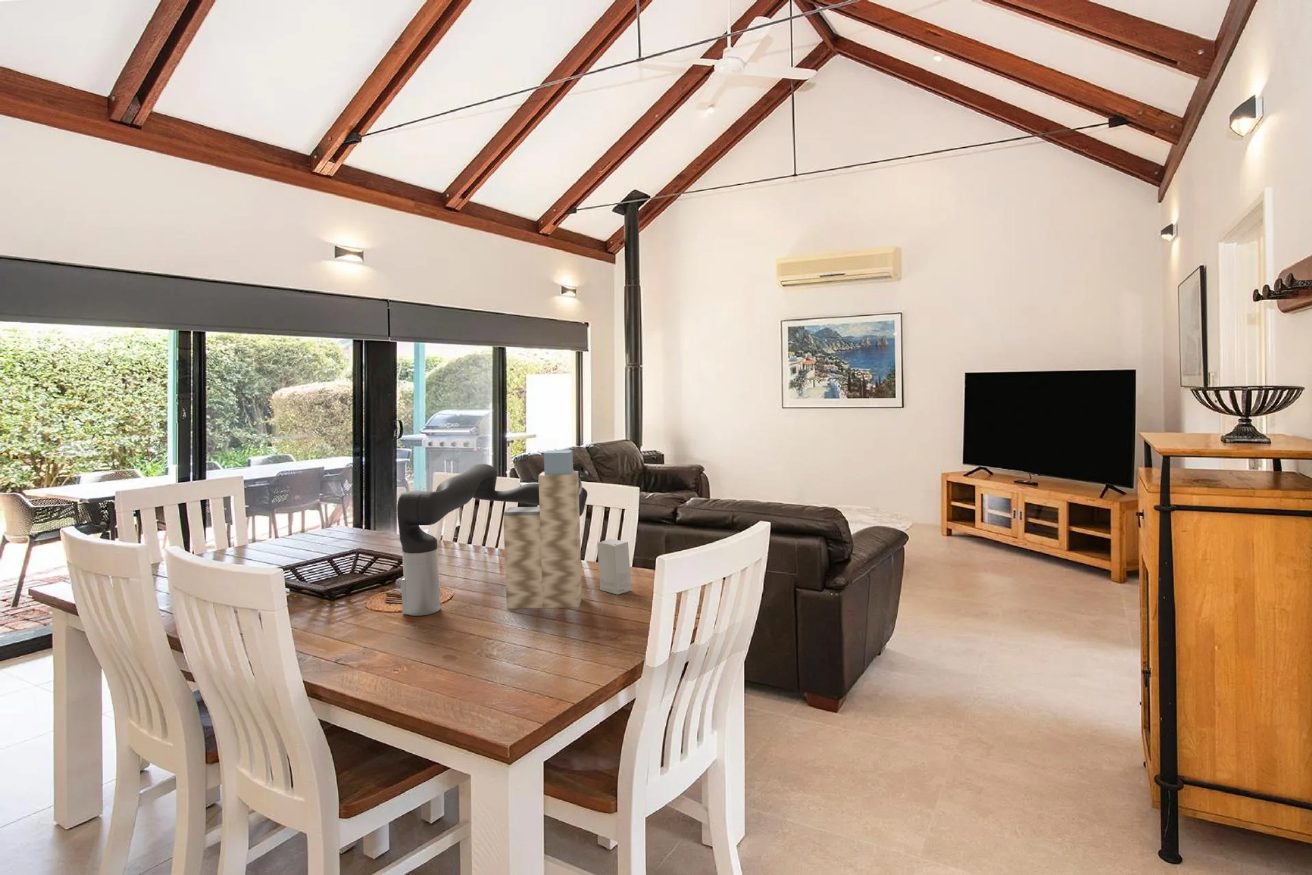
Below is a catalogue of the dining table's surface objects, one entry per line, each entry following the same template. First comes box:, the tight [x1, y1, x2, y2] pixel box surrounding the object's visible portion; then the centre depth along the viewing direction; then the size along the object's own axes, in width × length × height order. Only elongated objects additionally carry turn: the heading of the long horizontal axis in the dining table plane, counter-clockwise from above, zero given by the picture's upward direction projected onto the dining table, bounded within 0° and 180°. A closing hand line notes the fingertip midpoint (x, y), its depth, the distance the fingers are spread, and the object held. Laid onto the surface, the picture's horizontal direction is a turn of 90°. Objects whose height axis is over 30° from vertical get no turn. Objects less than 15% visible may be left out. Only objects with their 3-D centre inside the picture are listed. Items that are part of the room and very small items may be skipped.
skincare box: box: [596, 538, 632, 595], centre depth 216 cm, size 8×6×15 cm
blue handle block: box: [543, 449, 574, 475], centre depth 207 cm, size 7×16×6 cm, turn 0°
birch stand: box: [502, 471, 583, 610], centre depth 203 cm, size 20×8×37 cm, turn 90°
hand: (561, 461), depth 208 cm, fingers closed on blue handle block, 3 cm apart
